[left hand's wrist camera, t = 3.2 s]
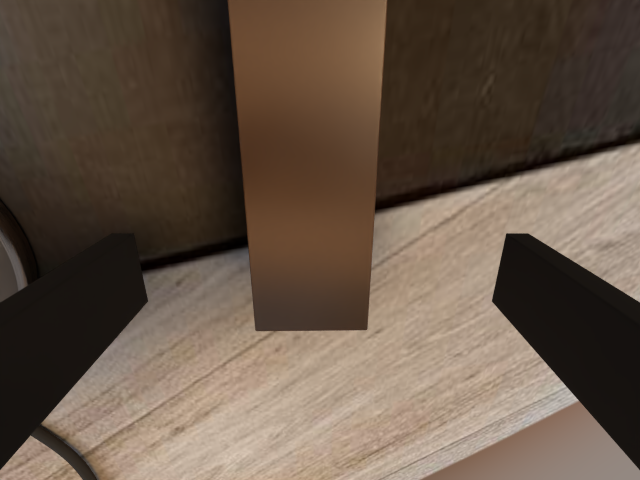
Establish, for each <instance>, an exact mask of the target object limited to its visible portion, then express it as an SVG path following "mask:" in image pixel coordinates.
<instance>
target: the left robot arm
mask: <svg viewBox="0 0 640 480" xmlns="http://www.w3.org/2000/svg"><path fill="white" fill-rule="evenodd" d="M147 302H148V299H147V294H146V289H145V285H144V280H143V275H142V271H141V266H140V261H139V256H138V252H137V247H136V242H135V238H134V234H110V235H109V236H107V237H106V238H104V239H102V240H101V241H99V242H97V243H96V244H94V245H93V246H91V247H89V248H88V249H86V250H84V251H83V252H81V253H80V254H78V255H76V256H75V257H73V258H71V259H70V260H68V261H67V262H65V263H63V264H62V265H60V266H59V267H57V268H55V269H54V270H52V271H50V272H49V273H47V274H46V275H44V276H42V277H41V278H39V279H38V273H37V268H36V263H35V259H34V256H33V253H32V250H31V248H30V246H29V243H28V241H27V239H26V237H25V235H24V233H23V232H22V230H21V228H20V226H19V225H18V223H17V222H16V220H15V219H14V217H13V216H12V215H11V213H10V212H9V211H8V209H7V208H6V207H5V206H4V205H3V203H2V202H1V201H0V470H1V468H2V467H3V466H4V465H5V464H6V463H7V462H8V460H9V459H10V458H11V457H12V456H13V455H14V454H15V452H16V451H17V450H18V449H19V448H20V447H21V446H22V444H23V443H24V442H25V441H26V440H27V439H28V438H29V436H30V435H31V436H33V437H34V438H36V439H37V440H39V441H40V442H42V443H43V444H45V445H46V446H48V447H49V448H51V449H52V450H54V451H55V452H56V453H58V454H59V455H60V456H61V457H63V458H64V459H65V460H66V461H67V462H68V463H69V464H70V465H71V466H72V467H73V468H74V469H75V470H76V471H77V473H78V474H79V475H80V476H81V478H82V479H83V480H97V479H96V477H95V475H94V474H93V472H92V471H91V469H90V468H89V467H88V465H87V464H86V463H85V461H84V460H83V459H82V458H81V457H80V456H79V455H78V454H77V453H76V452H75V451H74V450H73V449H72V448H71V447H69V446H68V445H67V444H66V443H64V442H63V441H62V440H60V439H59V438H57V437H56V436H54V435H53V434H51V433H50V432H48V431H47V430H45V429H44V428H42V427H41V426H39V425H40V424H41V423H42V422H43V421H44V419H45V418H46V417H47V416H48V415H49V414H50V413H51V411H52V410H53V409H54V408H55V407H56V406H57V405H58V403H59V402H60V401H61V400H62V399H63V398H64V397H65V395H66V394H67V393H68V392H69V391H70V390H71V389H72V387H73V386H74V385H75V384H76V383H77V382H78V381H79V379H80V378H81V377H82V376H83V375H84V374H85V373H86V371H87V370H88V369H89V368H90V367H91V366H92V365H93V363H94V362H95V361H96V360H97V359H98V358H99V357H100V356H101V354H102V353H103V352H104V351H105V350H106V349H107V348H108V346H109V345H110V344H111V343H112V342H113V341H114V340H115V338H116V337H117V336H118V335H119V334H120V333H121V332H122V330H123V329H124V328H125V327H126V326H127V325H128V324H129V322H130V321H131V320H132V319H133V318H134V317H135V316H136V314H137V313H138V312H139V311H140V310H141V309H142V308H143V306H144V305H145V304H146V303H147ZM492 302H493V303H494V304H495V305H496V306H497V308H498V309H499V310H500V311H501V312H502V313H503V314H504V316H505V317H506V318H507V319H508V320H509V321H510V322H511V324H512V325H513V326H514V327H515V328H516V329H517V330H518V332H519V333H520V334H521V335H522V336H523V337H524V338H525V340H526V341H527V342H528V343H529V344H530V345H531V346H532V348H533V349H534V350H535V351H536V352H537V353H538V354H539V356H540V357H541V358H542V359H543V360H544V361H545V362H546V363H547V365H548V366H549V367H550V368H551V369H552V370H553V371H554V373H555V374H556V375H557V376H558V377H559V378H560V379H561V381H562V382H563V383H564V384H565V385H566V386H567V387H568V389H569V390H570V391H571V392H572V393H573V394H574V395H575V397H576V398H577V399H578V400H579V401H580V402H581V403H582V405H583V406H584V407H585V408H586V409H587V410H588V411H589V413H590V414H591V415H592V416H593V417H594V418H595V419H596V420H597V422H598V423H599V424H600V425H601V426H602V427H603V428H604V430H605V431H606V432H607V433H608V434H609V435H610V436H611V438H612V439H613V440H614V441H615V442H616V443H617V444H618V446H619V447H620V448H621V449H622V450H623V451H624V452H625V454H626V455H627V456H628V457H629V458H630V459H631V460H632V462H633V463H634V464H635V465H636V466H637V467H638V468H639V470H640V302H638V301H637V300H635V299H633V298H632V297H630V296H628V295H627V294H625V293H624V292H622V291H620V290H619V289H617V288H616V287H614V286H612V285H611V284H609V283H607V282H606V281H604V280H603V279H601V278H599V277H598V276H596V275H594V274H593V273H591V272H590V271H588V270H586V269H585V268H583V267H581V266H580V265H578V264H577V263H575V262H573V261H572V260H570V259H569V258H567V257H565V256H564V255H562V254H560V253H559V252H557V251H556V250H554V249H552V248H551V247H549V246H547V245H546V244H544V243H543V242H541V241H539V240H538V239H536V238H534V237H533V236H531V235H530V234H506V238H505V242H504V247H503V252H502V256H501V261H500V266H499V271H498V275H497V280H496V285H495V289H494V294H493V299H492Z"/></svg>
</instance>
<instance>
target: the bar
mask: <svg viewBox="0 0 640 480" xmlns="http://www.w3.org/2000/svg"><path fill="white" fill-rule="evenodd" d="M387 4H388V0H228V11H229V23H230V35H231V47H232V59H233V70H234V82H235V94H236V106H237V118H238V130H239V142H240V153H241V165H242V177H243V189H244V201H245V213H246V225H247V236H248V248H249V260H250V272H251V284H252V296H253V307H254V319H255V330H256V331H321V330H367V327H368V310H369V294H370V278H371V262H372V246H373V230H374V214H375V197H376V181H377V165H378V149H379V133H380V117H381V101H382V84H383V68H384V52H385V36H386V20H387Z"/></svg>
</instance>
